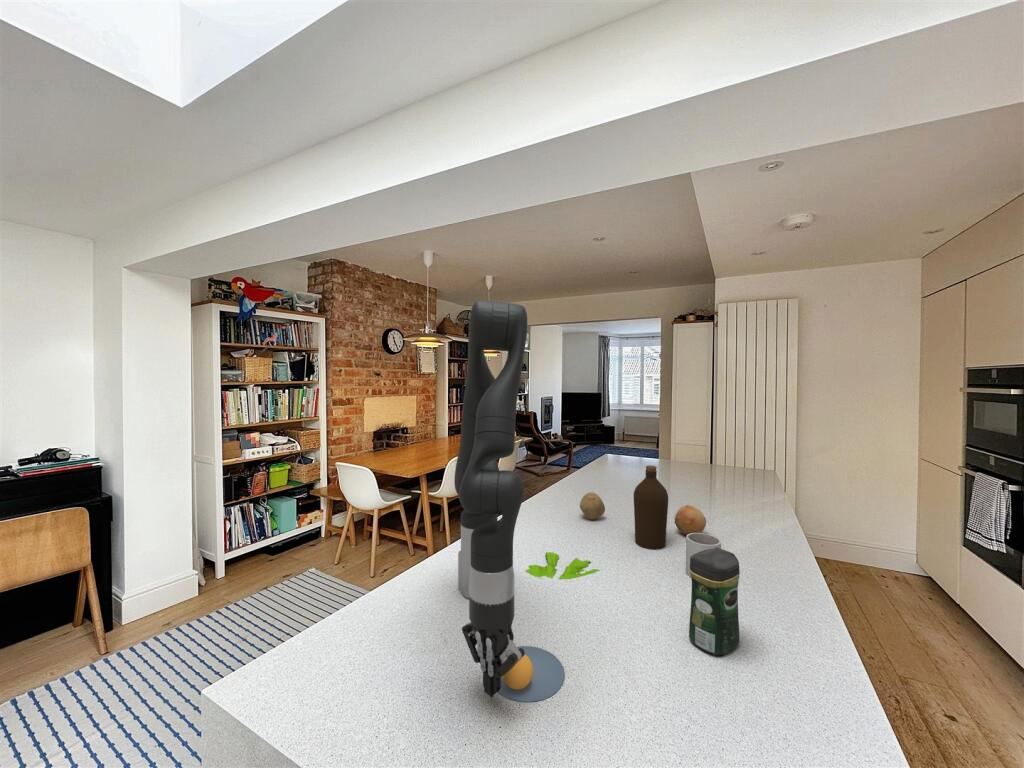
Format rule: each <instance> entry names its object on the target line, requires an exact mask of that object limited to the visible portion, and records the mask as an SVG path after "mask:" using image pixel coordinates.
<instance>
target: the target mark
mask: <svg viewBox="0 0 1024 768" xmlns="http://www.w3.org/2000/svg"><path fill="white" fill-rule="evenodd" d="M516 647H517V649H520V648H522V649H523V650H524V652H525V655H527V656H528V657H529V659H530V660H531V663H532V666H533V676H532V679H531V681H530V683H529V684H528V685H527V686H526V687H525V688H523V689H520V690H515V689H512V688H510V687H509V686H508V685H507V684H506V683H505V681H504V679H503V677H501V689H500V691H498V692H497V694H499V695H501V696H502V697H504V698H506V699H509V700H512V701H516V702H520V703H536V702H540V701H544V700H547V699H549V698H551V697H553V696H554V695H555V694H556V693H558V691H560V690H561V689H562V686H563V685H564V682H565V678H566V677H565V676H566V675H565V674H566V672H565V668H564V666H563V663H562V662H561V661H560V660H559V658H558V657H557V656H555V655H554V654H553V653H551V652H550V651H548V650H546V649H544V648H541V647H536V646H531V645H530V646H529V645H519V646H516ZM506 653H507V649H506ZM505 656H506V654H505ZM505 656H504V659H503V662H504V660H505Z"/></svg>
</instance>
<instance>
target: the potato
mask: <svg viewBox="0 0 1024 768" xmlns="http://www.w3.org/2000/svg"><path fill="white" fill-rule="evenodd" d="M579 508H580V510H581V512H582V513H583V515H584V516H585V517H586V518H587V519H589V520H591V521H592V520H594V521H595V520H596V519H597V518H599V517H601V516H603V515H604V514H605V512H606V507H605V504H604V501H603V500H602V498H601V497H600V496H599V495H598V494H597V493H595V492H587V493H585V494H584V495H583V496H582V498H581V500H580V503H579Z"/></svg>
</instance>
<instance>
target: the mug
mask: <svg viewBox="0 0 1024 768" xmlns="http://www.w3.org/2000/svg"><path fill="white" fill-rule="evenodd" d="M685 541H686V544H685V546H686V547H685V575H687V577H688V576H689V578H690V579H691V575H690V570H689V569H690V557H691V556H692V555H694V554H696V553H698V552H701V551H704V550H707V549H712V548H715V547H717V548H720V549H722V540H721V539H720V538H719V537H717V536H715V535H712V534H709V533H703V532H702V533H690V534H688V535H686V540H685Z"/></svg>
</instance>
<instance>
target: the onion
mask: <svg viewBox="0 0 1024 768" xmlns="http://www.w3.org/2000/svg"><path fill="white" fill-rule="evenodd" d="M674 525H675V526H676V528H677V529H678V530H679V532H681V533H682V534H683V535H686V536H687V535H688V534H690V533H703V531H704V530H705V529H706V525H707V519H706V516H705V515H704V513H703V512H702V511H701V510H700V509H699V508H697V507H696V506H694V505H690V504H685V505H683V506H681V507H680V508H679V509H678V510H677V511H676V513H675V515H674Z"/></svg>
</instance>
